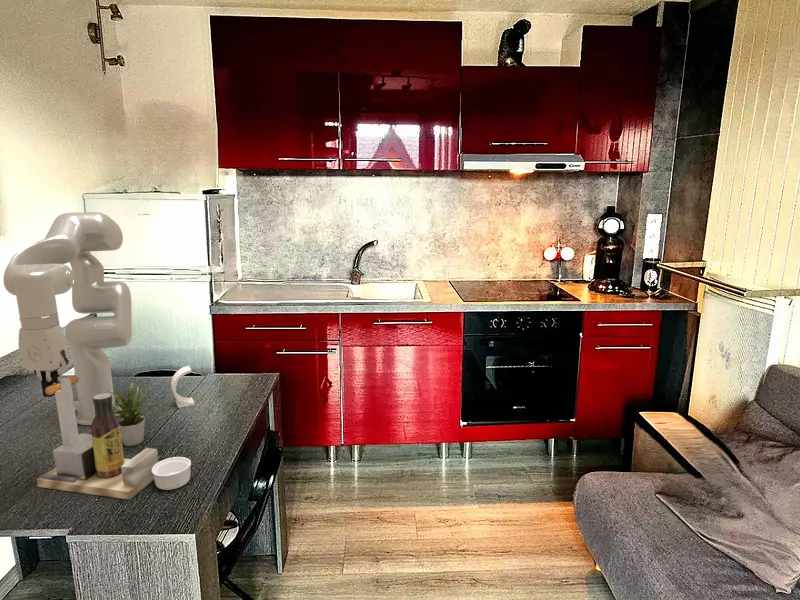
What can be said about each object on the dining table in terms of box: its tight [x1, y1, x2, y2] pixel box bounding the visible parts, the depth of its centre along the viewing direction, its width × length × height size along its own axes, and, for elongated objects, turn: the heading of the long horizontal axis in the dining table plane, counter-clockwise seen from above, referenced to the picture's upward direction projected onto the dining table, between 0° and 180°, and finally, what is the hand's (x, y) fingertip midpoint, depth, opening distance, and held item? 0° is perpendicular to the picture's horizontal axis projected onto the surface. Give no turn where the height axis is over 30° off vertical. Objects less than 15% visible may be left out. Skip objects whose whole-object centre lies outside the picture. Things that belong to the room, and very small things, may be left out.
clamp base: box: [36, 447, 160, 500], centre depth 135 cm, size 26×13×7 cm, turn 78°
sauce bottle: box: [90, 393, 125, 478], centre depth 132 cm, size 6×6×20 cm
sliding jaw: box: [45, 374, 97, 479], centre depth 133 cm, size 8×9×23 cm
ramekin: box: [152, 456, 192, 491], centre depth 134 cm, size 9×9×4 cm
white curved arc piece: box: [170, 365, 196, 409], centre depth 177 cm, size 5×6×12 cm
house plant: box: [104, 381, 153, 447], centre depth 153 cm, size 14×14×16 cm
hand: (51, 394), depth 133 cm, fingers closed
